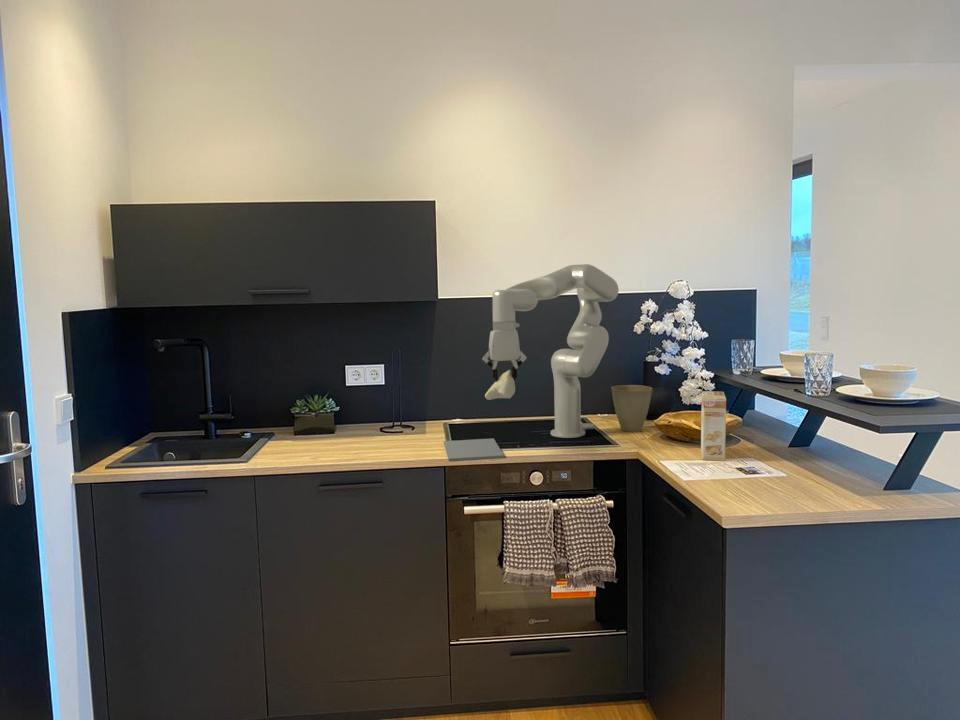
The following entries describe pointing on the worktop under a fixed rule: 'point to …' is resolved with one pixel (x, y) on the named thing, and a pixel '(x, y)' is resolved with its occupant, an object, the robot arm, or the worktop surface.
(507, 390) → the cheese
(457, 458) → the mat
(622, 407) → the plant pot
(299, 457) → the worktop surface
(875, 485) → the worktop surface
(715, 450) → the coffeecake box
